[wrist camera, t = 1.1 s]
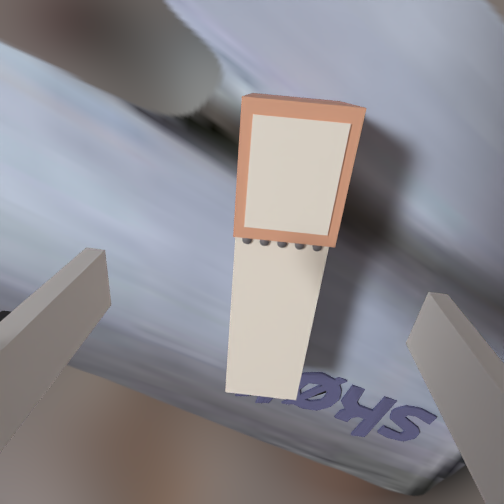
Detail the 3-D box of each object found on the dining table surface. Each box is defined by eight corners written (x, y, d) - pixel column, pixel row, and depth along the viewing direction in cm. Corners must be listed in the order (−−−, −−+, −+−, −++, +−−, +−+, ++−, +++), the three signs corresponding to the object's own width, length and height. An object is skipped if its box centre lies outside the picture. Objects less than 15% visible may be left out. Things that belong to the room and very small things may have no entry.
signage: (440, 415, 47) (400, 452, 51) (438, 411, 48) (399, 448, 52) (261, 351, 44) (235, 396, 48) (261, 347, 44) (235, 392, 49)
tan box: (252, 93, 30) (241, 96, 21) (339, 101, 30) (367, 108, 21) (244, 197, 34) (233, 237, 25) (319, 205, 34) (335, 248, 25)
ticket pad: (244, 200, 35) (235, 231, 27) (319, 208, 34) (330, 241, 27) (233, 342, 44) (225, 393, 36) (292, 348, 44) (296, 401, 36)
